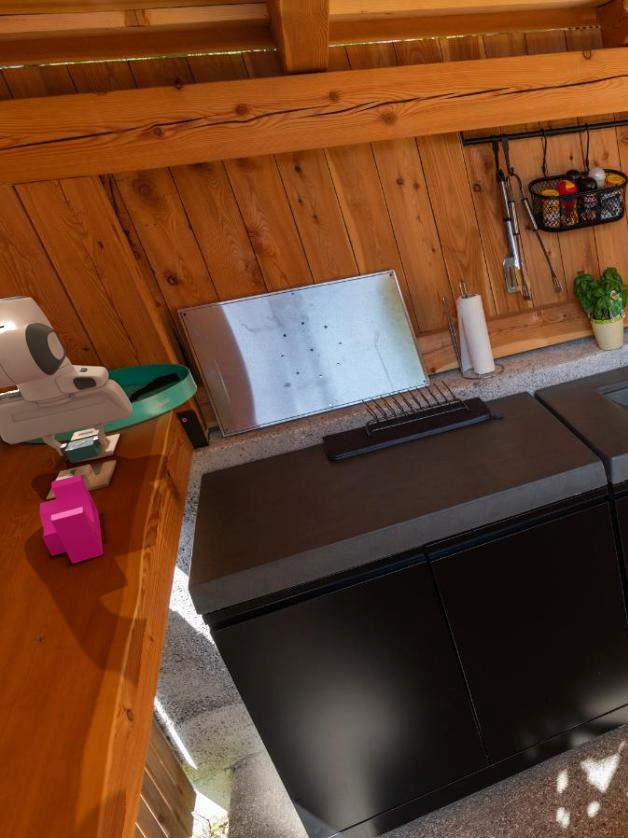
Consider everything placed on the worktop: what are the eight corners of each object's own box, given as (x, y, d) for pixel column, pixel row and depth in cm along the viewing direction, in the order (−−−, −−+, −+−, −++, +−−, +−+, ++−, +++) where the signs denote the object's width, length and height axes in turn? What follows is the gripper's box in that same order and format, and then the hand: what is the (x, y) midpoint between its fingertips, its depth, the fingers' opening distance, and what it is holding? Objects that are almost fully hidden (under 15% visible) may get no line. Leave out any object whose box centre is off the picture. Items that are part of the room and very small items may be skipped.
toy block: (52, 527, 122) (31, 486, 119) (99, 514, 126) (80, 474, 122) (51, 570, 112) (29, 526, 108) (103, 554, 115) (82, 512, 111)
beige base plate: (47, 501, 132) (38, 486, 131) (60, 476, 141) (51, 461, 139) (108, 486, 135) (99, 470, 134) (116, 462, 144) (109, 447, 143)
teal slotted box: (70, 462, 145) (64, 450, 143) (75, 453, 148) (68, 442, 147) (98, 455, 146) (92, 444, 145) (102, 447, 150) (96, 435, 149)
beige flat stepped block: (57, 469, 144) (49, 454, 142) (68, 448, 152) (61, 434, 151) (113, 456, 147) (106, 441, 145) (121, 436, 156) (114, 422, 154)
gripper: (-26, 403, 134) (14, 472, 140) (110, 375, 141) (142, 441, 148) (-16, 392, 139) (22, 459, 145) (115, 365, 146) (146, 429, 153)
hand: (84, 449), depth 147 cm, fingers closed on teal slotted box, 4 cm apart
